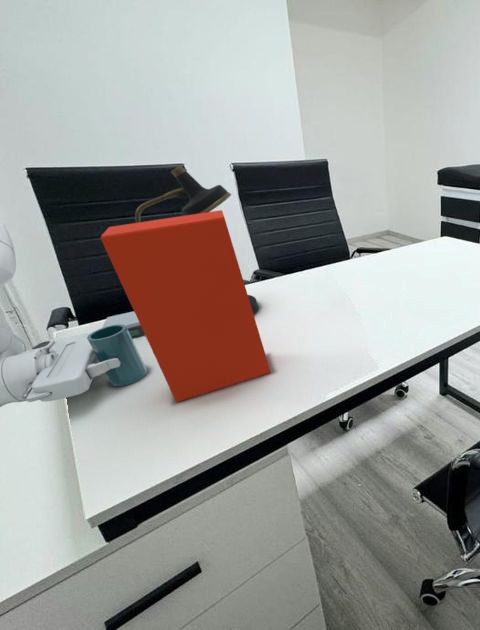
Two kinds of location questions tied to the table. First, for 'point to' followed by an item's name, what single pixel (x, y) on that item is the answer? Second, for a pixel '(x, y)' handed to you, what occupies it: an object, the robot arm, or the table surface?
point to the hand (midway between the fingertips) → (122, 351)
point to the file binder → (189, 300)
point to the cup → (118, 354)
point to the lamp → (195, 202)
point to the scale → (126, 323)
